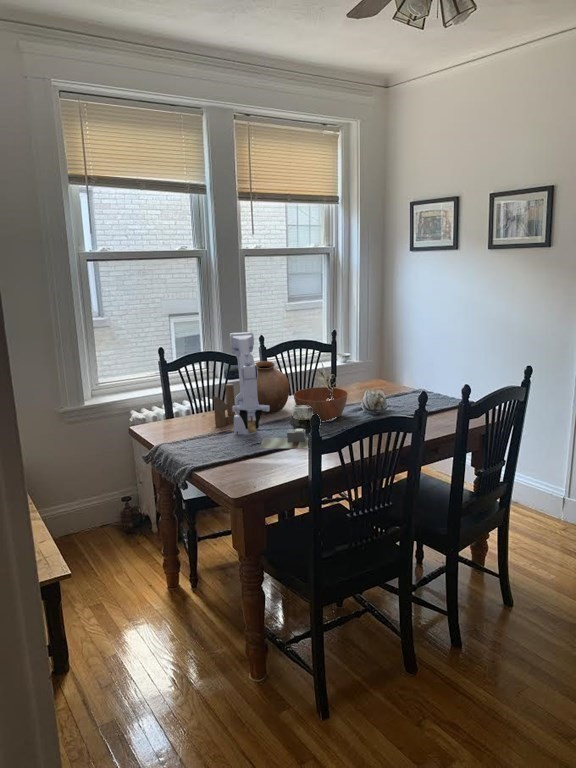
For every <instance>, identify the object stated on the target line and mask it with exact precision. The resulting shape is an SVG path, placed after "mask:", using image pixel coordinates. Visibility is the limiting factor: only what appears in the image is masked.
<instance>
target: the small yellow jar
mask: <svg viewBox="0 0 576 768" xmlns="http://www.w3.org/2000/svg"><path fill="white" fill-rule="evenodd" d="M250 418H251V419H250V420H247V427H248V433H249V434H250V435H254V434H257V432H258V429H256V420H255V419H253V417H252V416H250ZM256 431H257V432H256Z"/></svg>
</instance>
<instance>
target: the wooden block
mask: <svg viewBox="0 0 576 768" xmlns="http://www.w3.org/2000/svg"><path fill="white" fill-rule="evenodd" d="M234 389H235V388H234V383H226V384H225V395H226V397H225V398H226V403H225V402H224V401H223V399H221V398H220V397H219V396H215V395H214V396H213V397H212V398H213V411H214V423H215V427H218V428H223V427H225V426H227V425H231V424H234V416H235V415H237V414H236V411H235V412H233V409H232V407H233V406H235V391H234ZM226 411H227V412H226ZM226 413H227V414H226Z"/></svg>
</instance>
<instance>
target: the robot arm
mask: <svg viewBox="0 0 576 768" xmlns="http://www.w3.org/2000/svg"><path fill="white" fill-rule="evenodd" d="M229 344H230V351H231V354H234V355H235V357H236V359H237V366H238V367H237V369H238V378H239V388H240V389H239V391H240V392H239V393H238V394H237V395H236V396H234V403H235V406H233V407H232V409H233V412H235V414H237V415H235V416H234V423H233V433H234V435H244V436H247V435H251V434H249V433H248V427H247V420H250V419H251V418H250V416H252V417H253V419H255V420H256V429H257V431H256V433H257V432H258V429H259V427H260V421H261V417H262V415H263V414H262V412H263V411H269V410H270V407H269V405H259V403H258V394H257V380H256V378H257V379H258V369H257V366H256V364H255V363H256V362H255V360H254V359H255V358H254V356H253V354H252V353H253V350H254V345H255V337H254V333H253V332H252V331H249V332H231V333H229Z"/></svg>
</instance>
